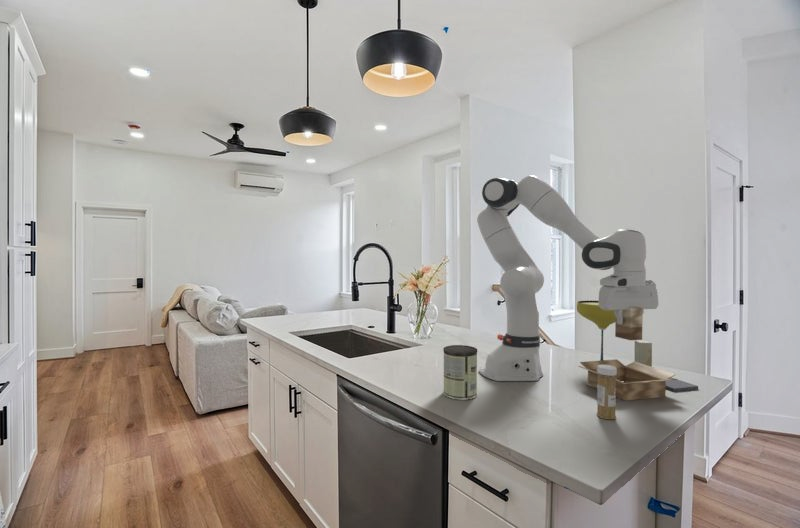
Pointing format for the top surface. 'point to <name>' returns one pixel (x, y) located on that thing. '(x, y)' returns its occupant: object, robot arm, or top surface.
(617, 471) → the top surface
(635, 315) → the block
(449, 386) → the coffee can
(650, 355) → the box
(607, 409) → the sprinkles bottle
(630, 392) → the carton
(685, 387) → the mat
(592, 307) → the cocktail glass
